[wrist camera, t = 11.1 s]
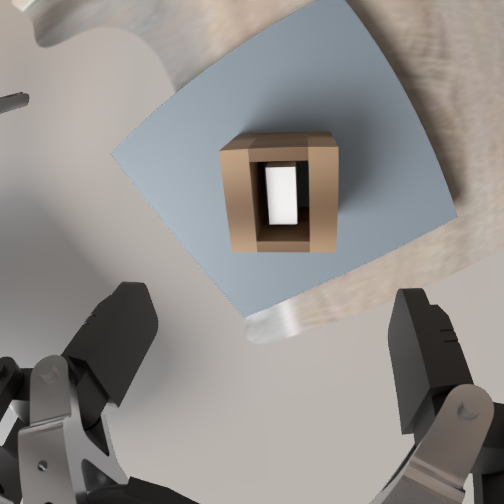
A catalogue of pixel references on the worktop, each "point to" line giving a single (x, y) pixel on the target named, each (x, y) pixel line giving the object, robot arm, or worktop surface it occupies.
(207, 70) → the flat blue-gray panel
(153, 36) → the worktop surface
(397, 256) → the worktop surface
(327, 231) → the tan hollow open box
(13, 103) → the mechanical component
